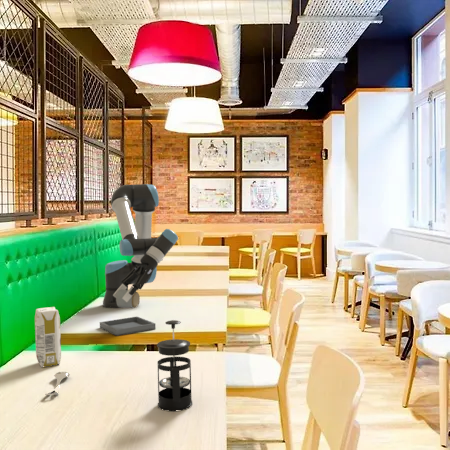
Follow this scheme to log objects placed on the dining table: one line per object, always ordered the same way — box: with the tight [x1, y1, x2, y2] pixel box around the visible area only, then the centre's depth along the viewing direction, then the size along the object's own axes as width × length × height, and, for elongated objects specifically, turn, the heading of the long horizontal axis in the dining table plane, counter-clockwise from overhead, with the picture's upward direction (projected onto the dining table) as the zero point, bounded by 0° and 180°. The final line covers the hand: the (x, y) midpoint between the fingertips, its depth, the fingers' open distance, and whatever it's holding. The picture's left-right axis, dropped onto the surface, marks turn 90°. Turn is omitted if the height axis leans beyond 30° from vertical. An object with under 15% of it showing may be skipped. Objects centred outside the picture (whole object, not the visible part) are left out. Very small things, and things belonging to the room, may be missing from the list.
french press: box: [156, 319, 193, 412], centre depth 148 cm, size 12×9×23 cm
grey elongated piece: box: [44, 371, 71, 396], centre depth 164 cm, size 20×4×5 cm
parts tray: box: [99, 316, 157, 337], centre depth 237 cm, size 18×18×2 cm
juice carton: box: [34, 306, 62, 368], centre depth 188 cm, size 8×9×19 cm
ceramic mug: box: [116, 289, 141, 309], centre depth 238 cm, size 11×8×8 cm
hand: (119, 298), depth 235 cm, fingers closed on ceramic mug, 9 cm apart
